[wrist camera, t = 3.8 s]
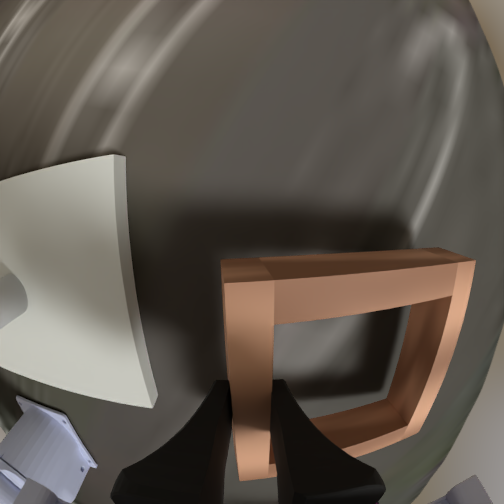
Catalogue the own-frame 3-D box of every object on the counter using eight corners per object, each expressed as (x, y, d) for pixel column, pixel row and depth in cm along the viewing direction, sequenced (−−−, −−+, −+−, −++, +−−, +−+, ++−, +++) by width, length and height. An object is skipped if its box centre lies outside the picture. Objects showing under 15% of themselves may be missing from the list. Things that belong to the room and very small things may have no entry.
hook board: (158, 394, 17) (131, 461, 11) (-6, 353, 17) (-41, 383, 11) (125, 156, 14) (53, 144, 7) (-40, 197, 14) (-88, 207, 7)
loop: (398, 407, 16) (418, 432, 13) (233, 444, 14) (239, 481, 11) (438, 247, 13) (475, 260, 10) (220, 259, 12) (224, 283, 9)
